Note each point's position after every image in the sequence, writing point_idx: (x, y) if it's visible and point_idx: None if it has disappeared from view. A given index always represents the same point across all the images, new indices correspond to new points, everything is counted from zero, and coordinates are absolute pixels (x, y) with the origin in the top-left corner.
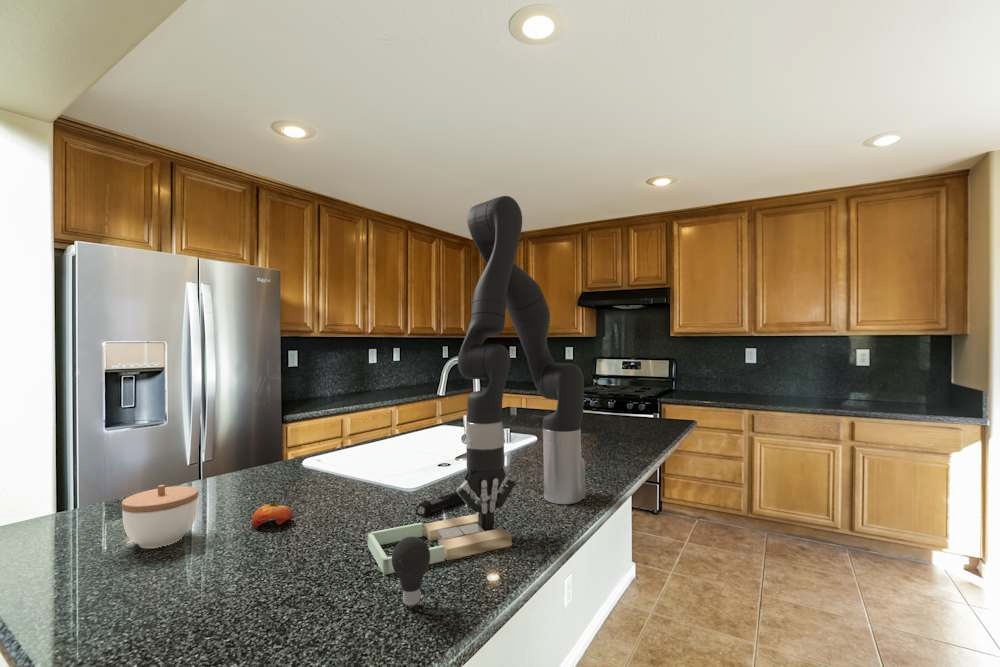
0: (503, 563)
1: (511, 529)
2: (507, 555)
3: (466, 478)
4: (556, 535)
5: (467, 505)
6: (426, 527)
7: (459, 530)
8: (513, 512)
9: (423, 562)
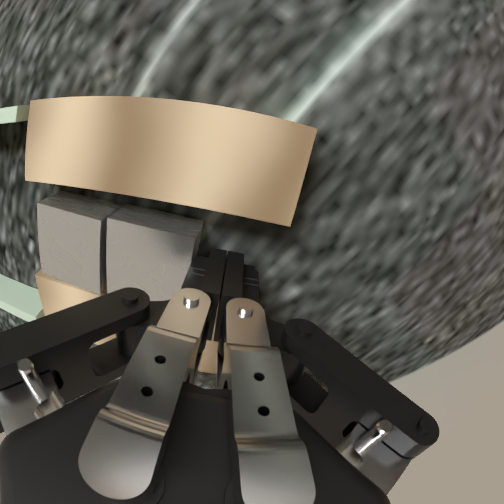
0: None
1: (339, 271)
2: (197, 376)
3: (11, 458)
4: (375, 365)
5: (100, 299)
6: (27, 138)
7: (97, 259)
8: (459, 154)
9: None
